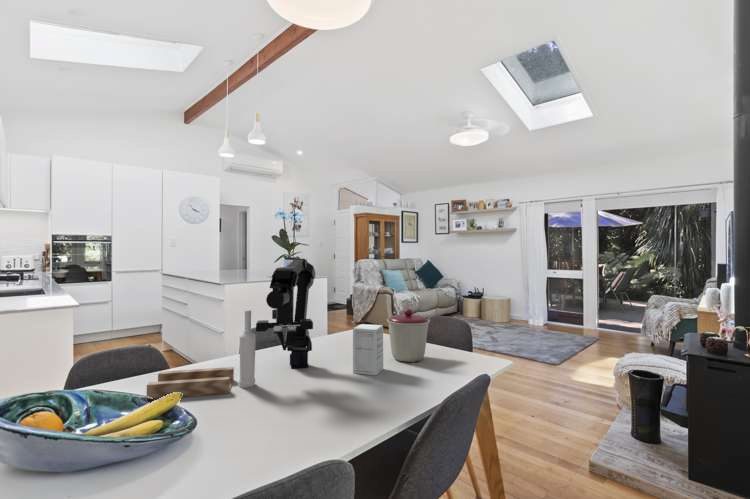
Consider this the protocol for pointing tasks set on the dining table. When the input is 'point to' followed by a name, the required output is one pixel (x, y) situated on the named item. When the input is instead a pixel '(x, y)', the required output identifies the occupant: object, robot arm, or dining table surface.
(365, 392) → the dining table surface
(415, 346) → the canister
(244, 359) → the bottle
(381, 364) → the supplement box
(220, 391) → the u rest
